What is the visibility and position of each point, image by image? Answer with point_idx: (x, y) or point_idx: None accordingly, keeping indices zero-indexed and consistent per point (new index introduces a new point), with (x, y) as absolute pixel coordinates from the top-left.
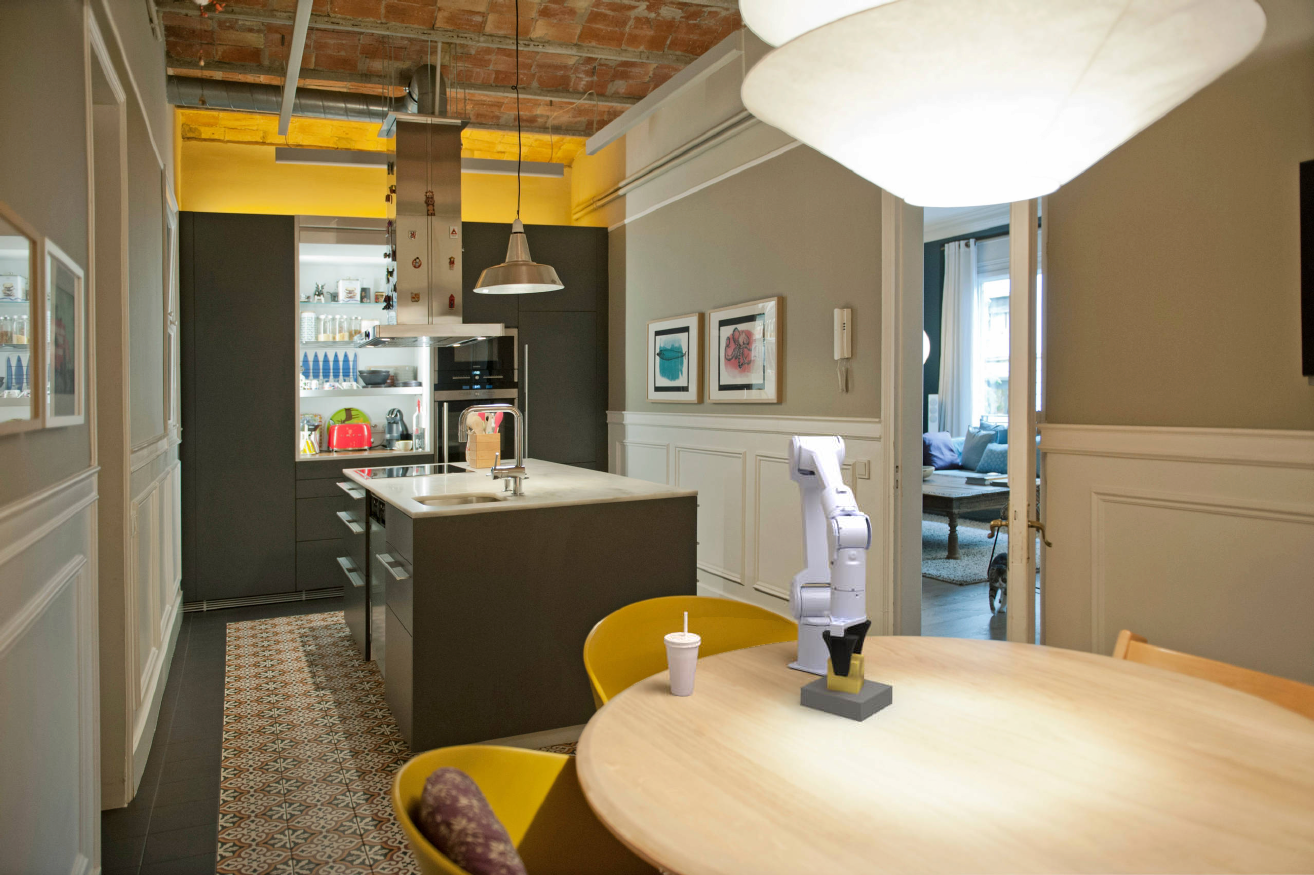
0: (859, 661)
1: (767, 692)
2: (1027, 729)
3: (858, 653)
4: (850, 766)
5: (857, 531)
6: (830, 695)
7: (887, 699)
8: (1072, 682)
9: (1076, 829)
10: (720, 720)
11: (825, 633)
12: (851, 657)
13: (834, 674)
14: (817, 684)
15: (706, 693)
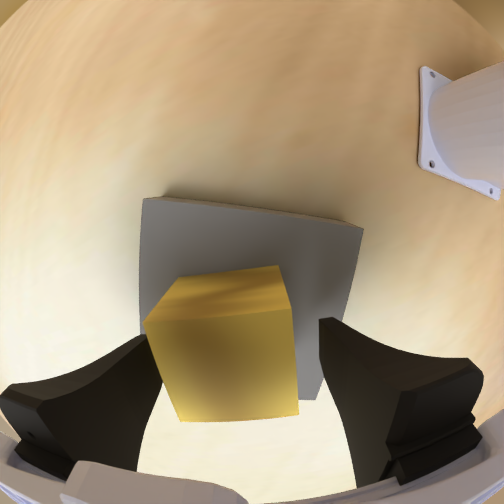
0: (206, 421)
1: (207, 78)
2: (290, 491)
3: (330, 384)
4: (27, 363)
5: None
6: (140, 302)
7: None
8: None
9: None
10: (22, 118)
11: (3, 411)
12: (238, 392)
13: (139, 335)
14: (202, 232)
15: (131, 2)
